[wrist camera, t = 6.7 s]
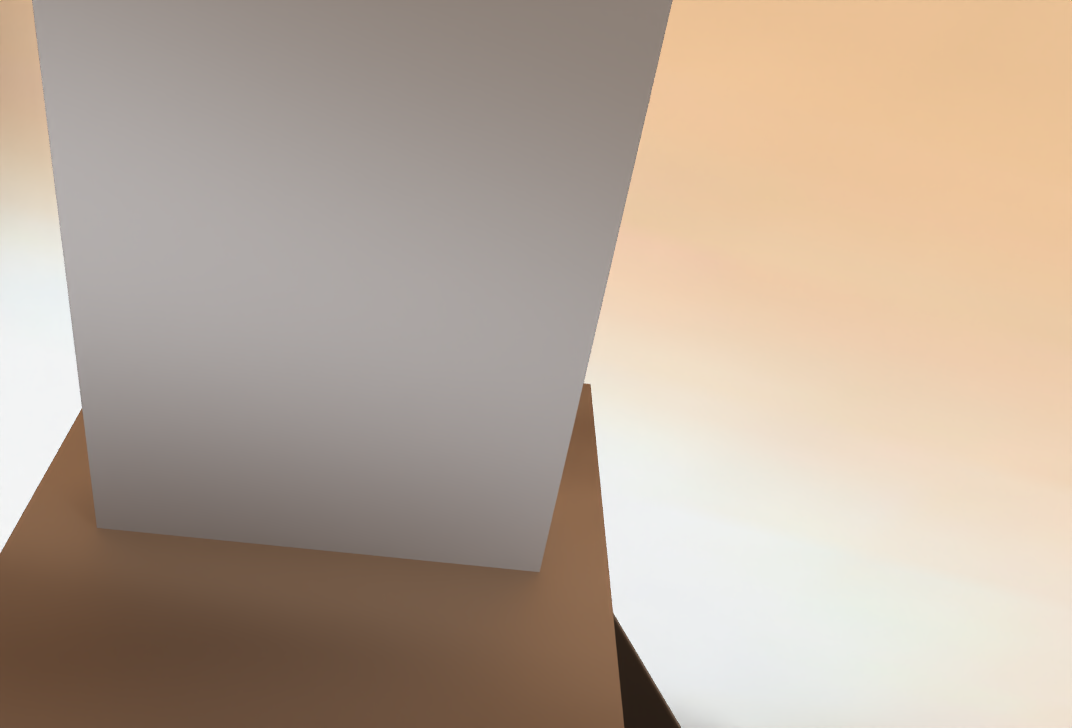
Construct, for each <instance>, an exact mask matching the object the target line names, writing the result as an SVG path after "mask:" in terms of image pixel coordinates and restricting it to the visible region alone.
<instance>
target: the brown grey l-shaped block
mask: <svg viewBox="0 0 1072 728" xmlns="http://www.w3.org/2000/svg"><path fill="white" fill-rule="evenodd" d="M32 2H33V11H34V19H35V27H36V35H37V43H38V51H39V60H40V68H41V76H42V84H43V92H44V100H45V108H46V117H47V125H48V133H49V141H50V149H51V157H52V166H53V174H54V182H55V190H56V198H57V206H58V215H59V223H60V231H61V239H62V247H63V255H64V264H65V272H66V280H67V288H68V296H69V304H70V312H71V321H72V329H73V337H74V345H75V353H76V361H77V370H78V378H79V386H80V394H81V402H82V409H81V411H80V413H79V415H78V416H77V418H76V420H75V422H74V424H73V425H72V427H71V429H70V431H69V432H68V434H67V436H66V438H65V439H64V441H63V443H62V445H61V447H60V448H59V450H58V452H57V454H56V455H55V457H54V459H53V461H52V463H51V464H50V466H49V468H48V470H47V471H46V473H45V475H44V477H43V479H42V480H41V482H40V484H39V486H38V487H37V489H36V491H35V493H34V495H33V496H32V498H31V500H30V502H29V503H28V505H27V507H26V509H25V511H24V512H23V514H22V516H21V518H20V519H19V521H18V523H17V525H16V527H15V528H14V530H13V532H12V534H11V535H10V537H9V539H8V541H7V543H6V544H5V546H4V548H3V550H2V551H1V553H0V728H624V720H623V710H622V700H621V690H620V680H619V669H618V659H617V649H616V639H615V629H614V619H613V609H612V598H611V588H610V578H609V568H608V558H607V548H606V538H605V527H604V517H603V507H602V497H601V487H600V477H599V467H598V456H597V446H596V436H595V426H594V416H593V406H592V396H591V385H590V384H583V383H584V379H585V374H586V370H587V366H588V362H589V357H590V353H591V349H592V344H593V340H594V336H595V331H596V327H597V323H598V318H599V314H600V310H601V306H602V301H603V297H604V293H605V288H606V284H607V280H608V275H609V271H610V267H611V263H612V258H613V254H614V250H615V245H616V241H617V237H618V232H619V228H620V224H621V220H622V215H623V211H624V207H625V202H626V198H627V194H628V189H629V185H630V181H631V176H632V172H633V168H634V164H635V159H636V155H637V151H638V146H639V142H640V138H641V133H642V129H643V125H644V121H645V116H646V112H647V108H648V103H649V99H650V95H651V90H652V86H653V82H654V78H655V73H656V69H657V65H658V60H659V56H660V52H661V47H662V43H663V39H664V34H665V30H666V26H667V22H668V17H669V13H670V9H671V4H672V0H32Z"/></svg>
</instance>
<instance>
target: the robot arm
mask: <svg viewBox="0 0 1072 728" xmlns="http://www.w3.org/2000/svg"><path fill="white" fill-rule="evenodd" d="M613 619H614V629H615V639H616V649H617V659H618V669H619V680H620V690H621V700H622V710H623V720H624V728H681V727H680V725H679V723H678V721H677V720H676V718H675V716H674V715H673V713H672V711H671V710H670V708H669V706H668V705H667V703H666V701H665V700H664V698H663V696H662V695H661V693H660V691H659V689H658V688H657V686H656V684H655V683H654V681H653V679H652V678H651V676H650V674H649V673H648V671H647V669H646V668H645V666H644V664H643V662H642V661H641V659H640V657H639V656H638V654H637V652H636V651H635V649H634V647H633V646H632V644H631V642H630V641H629V639H628V637H627V636H626V634H625V632H624V630H623V629H622V627H621V625H620V624H619V622H618V620H617V619H616V617H615V615H614V614H613Z"/></svg>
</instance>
